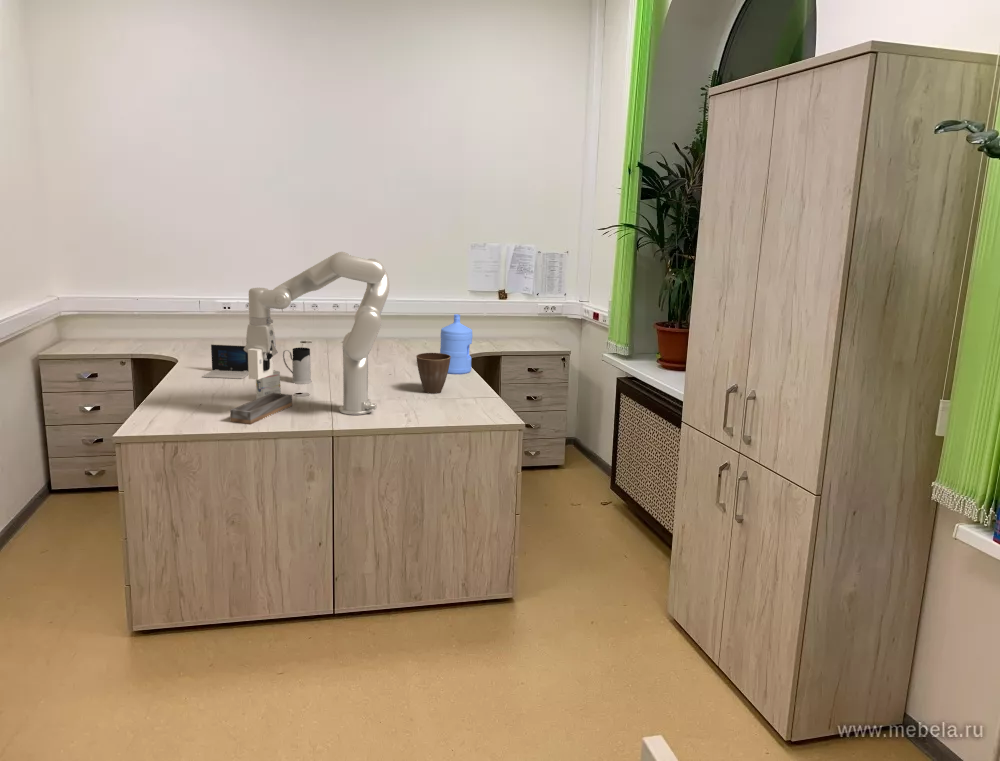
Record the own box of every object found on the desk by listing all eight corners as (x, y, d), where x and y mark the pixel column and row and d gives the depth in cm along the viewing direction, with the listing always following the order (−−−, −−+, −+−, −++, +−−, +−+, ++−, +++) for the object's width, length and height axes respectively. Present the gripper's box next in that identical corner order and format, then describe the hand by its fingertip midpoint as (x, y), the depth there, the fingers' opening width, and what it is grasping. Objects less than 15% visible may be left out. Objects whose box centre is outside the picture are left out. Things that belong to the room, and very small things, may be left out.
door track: (292, 405, 303) (291, 394, 302) (250, 424, 277) (250, 412, 276) (273, 403, 305) (273, 392, 304) (230, 421, 279) (230, 409, 278)
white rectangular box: (273, 374, 292) (272, 346, 289) (258, 379, 282) (257, 350, 280) (263, 373, 293) (263, 345, 290) (248, 378, 283) (247, 349, 281)
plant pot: (444, 397, 326) (445, 360, 323) (411, 394, 329) (411, 357, 326) (453, 389, 341) (454, 354, 337) (421, 386, 343) (422, 351, 340)
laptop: (202, 378, 342) (200, 349, 339) (212, 371, 354) (211, 344, 351) (242, 379, 342) (241, 351, 339) (251, 373, 354) (250, 346, 351)
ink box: (263, 402, 305) (262, 374, 303) (255, 400, 309) (254, 372, 306) (281, 399, 312) (280, 371, 309) (274, 396, 315) (273, 369, 312)
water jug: (448, 375, 367) (449, 317, 361) (434, 368, 380) (435, 313, 374) (476, 373, 375) (478, 316, 368) (462, 366, 388) (464, 312, 381)
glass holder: (304, 385, 337) (303, 351, 333) (277, 381, 342) (276, 348, 338) (315, 381, 344) (315, 348, 341) (289, 377, 350) (289, 345, 346)
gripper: (285, 322, 284) (286, 370, 288) (246, 318, 289) (247, 365, 293) (274, 324, 277) (274, 373, 281) (234, 320, 282) (235, 369, 286)
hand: (261, 369), depth 287 cm, fingers closed on white rectangular box, 4 cm apart
